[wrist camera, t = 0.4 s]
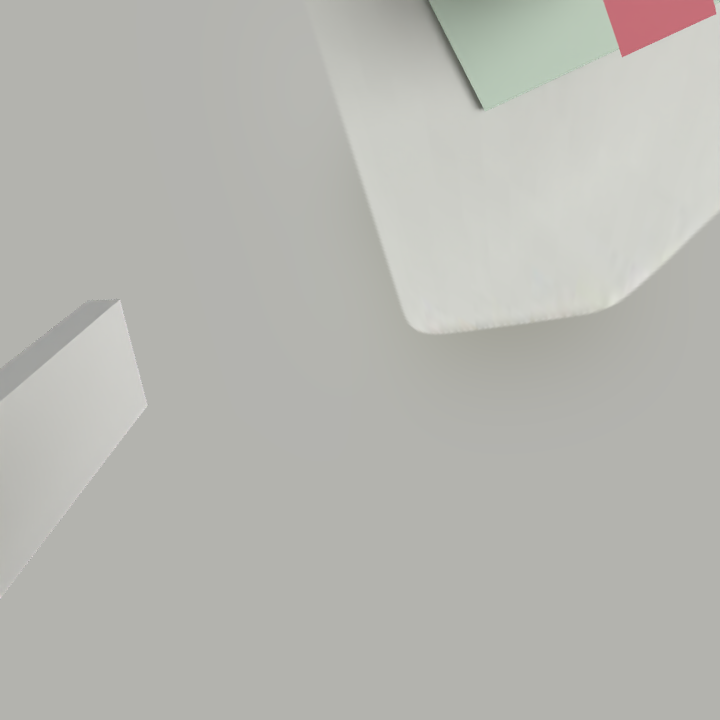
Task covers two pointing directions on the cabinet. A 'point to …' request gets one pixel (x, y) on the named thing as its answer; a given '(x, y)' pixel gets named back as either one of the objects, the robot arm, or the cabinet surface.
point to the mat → (523, 41)
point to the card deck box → (653, 19)
